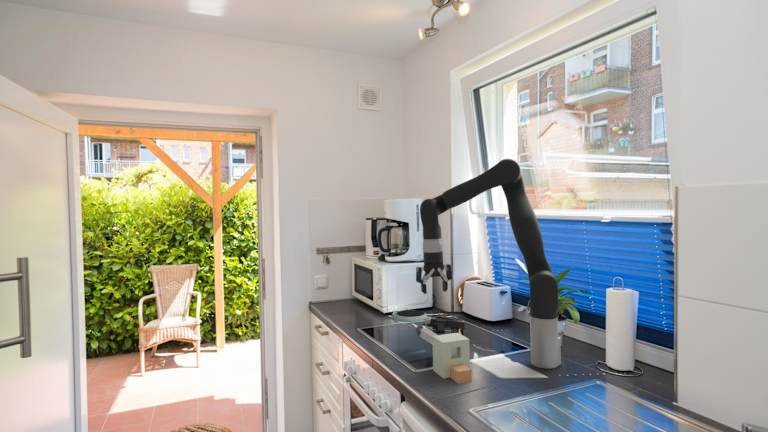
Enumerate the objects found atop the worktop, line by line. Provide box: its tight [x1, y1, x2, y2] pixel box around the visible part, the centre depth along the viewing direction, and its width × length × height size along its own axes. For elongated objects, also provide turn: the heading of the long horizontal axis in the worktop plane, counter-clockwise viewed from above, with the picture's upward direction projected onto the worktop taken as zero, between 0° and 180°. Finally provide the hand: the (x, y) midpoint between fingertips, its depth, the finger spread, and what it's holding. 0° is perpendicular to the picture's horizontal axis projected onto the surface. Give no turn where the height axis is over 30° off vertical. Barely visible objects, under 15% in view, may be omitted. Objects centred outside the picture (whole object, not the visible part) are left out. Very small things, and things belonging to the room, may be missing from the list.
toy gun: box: [424, 315, 466, 334], centre depth 202 cm, size 5×21×15 cm
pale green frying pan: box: [391, 309, 428, 324], centre depth 225 cm, size 18×4×25 cm
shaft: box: [415, 324, 458, 357], centre depth 160 cm, size 4×28×4 cm, turn 19°
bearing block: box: [432, 332, 471, 379], centre depth 148 cm, size 10×8×12 cm
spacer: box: [450, 365, 473, 385], centre depth 142 cm, size 5×5×4 cm
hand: (434, 292), depth 166 cm, fingers open, 8 cm apart
